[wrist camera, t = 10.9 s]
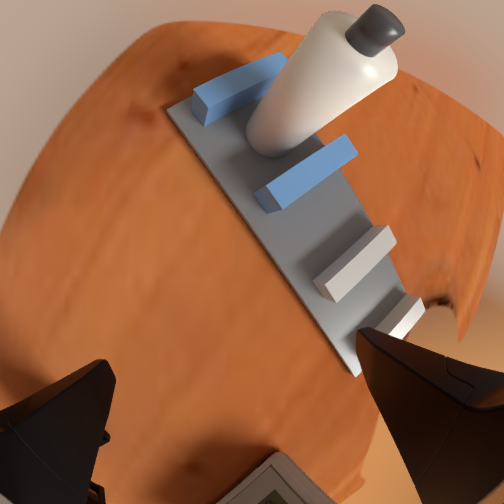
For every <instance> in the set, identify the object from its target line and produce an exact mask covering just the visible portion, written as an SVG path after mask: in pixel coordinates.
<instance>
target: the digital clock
mask: <svg viewBox="0 0 504 504" xmlns="http://www.w3.org/2000/svg"><path fill="white" fill-rule="evenodd" d="M215 504H337V503H336V502H335V501H333V500H332V499H331V498H330V497H329V496H328V495H327V494H326V493H325V492H324V491H323V490H322V489H321V488H320V487H319V486H318V485H316V484H315V483H314V482H313V481H312V480H311V479H310V478H309V477H308V476H307V475H306V474H305V473H304V472H303V471H302V470H301V468H300V467H299V466H298V465H297V464H296V463H295V462H294V461H293V460H292V459H291V458H290V457H289V456H288V455H286V454H285V453H283V452H275V453H274V454H272V455H271V456H270V457H269V458H268V459H267V460H266V461H265V462H264V463H263V464H262V465H261V466H260V467H258V468H256V469H255V470H254V471H253V472H252V473H250V474H249V475H248V476H247V477H246V478H245V479H244V480H243V481H242V482H241V483H239V484H238V485H237V486H236V487H235V488H234V489H233V490H231V491H230V492H229V493H228V494H227V495H225V496H224V497H223V498H222V499H220V500H219V501H218V502H217V503H215Z"/></svg>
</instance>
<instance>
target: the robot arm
mask: <svg viewBox="0 0 504 504" xmlns="http://www.w3.org/2000/svg"><path fill="white" fill-rule="evenodd" d="M356 355H357V358H358V361H359V363H360V366H361V369H362V372H363V374H364V377H365V380H366V383H367V386H368V388H369V390H370V393H371V395H372V397H373V399H374V401H375V403H376V405H377V407H378V409H379V411H380V413H381V415H382V417H383V419H384V421H385V423H386V425H387V427H388V429H389V431H390V433H391V435H392V437H393V439H394V441H395V444H396V446H397V448H398V450H399V452H400V454H401V456H402V458H403V461H404V463H405V465H406V467H407V469H408V472H409V474H410V476H411V478H412V481H413V483H414V485H416V486H415V488H416V490H417V492H418V494H419V497H420V499H421V502H422V504H504V373H503V372H498V371H494V370H490V369H486V368H482V367H478V366H474V365H470V364H467V363H464V362H461V361H458V360H455V359H452V358H450V357H446V358H445V356H444V355H441V354H438V353H436V352H433V351H430V350H428V349H425V348H422V347H420V346H417V345H414V344H412V343H409V342H407V341H404V340H401V339H399V338H396V337H394V336H391V335H388V334H386V333H383V332H381V331H378V330H376V329H373V328H371V327H364V328H360V329H357V331H356ZM115 384H116V378H115V375H114V373H113V371H112V369H111V367H110V365H109V363H108V361H107V360H105V359H97V360H95V361H93V362H91V363H89V364H88V365H86V366H84V367H82V368H80V369H79V370H77V371H75V372H73V373H71V374H70V375H68V376H66V377H64V378H62V379H61V380H59V381H57V382H55V383H53V384H51V385H50V386H48V387H46V388H44V389H42V390H40V391H39V392H37V393H35V394H33V395H32V396H29V397H27V398H26V399H24V400H22V401H20V402H18V403H16V404H14V405H12V406H10V407H7V408H5V409H3V410H1V411H0V504H106V502H105V492H104V487H102V486H100V485H97V484H95V483H94V482H92V481H91V477H92V473H93V469H94V465H95V461H96V457H97V453H98V450H99V447H100V446H102V445H104V444H106V443H108V442H109V441H110V438H111V437H110V435H109V434H108V433H107V432H106V431H104V429H105V426H106V422H107V419H108V416H109V412H110V407H111V402H112V398H113V393H114V388H115ZM105 437H106V438H105Z"/></svg>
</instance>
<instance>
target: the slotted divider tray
mask: <svg viewBox="0 0 504 504" xmlns="http://www.w3.org/2000/svg"><path fill="white" fill-rule="evenodd" d="M287 61H288V59H287V58H286V57H285V56H284V55H283V54H282V53H281V52H278V53H275V54H272V55H269V56H267V57H264V58H261V59H258V60H256V61H253V62H251V63H248V64H246V65H243V66H241V67H239V68H236V69H234V70H232V71H229V72H227V73H225V74H223V75H220V76H218V77H216V78H214V79H212V80H210V81H208V82H206V83H204V84H202V85H200V86H198V87H196V88H194V89H193V95H192V96H190V97H188V98H186V99H184V100H182V101H181V102H179V103H177V104H175V105H174V106H172V107H170V108H169V109H167V115H168V116H169V118H170V119H171V120H172V122H173V123H174V124H175V126H176V127H177V128H178V130H179V131H180V133H181V134H182V135H183V137H184V138H185V139H186V141H187V142H188V143H189V145H190V146H191V148H192V149H193V150H194V152H195V153H196V154H197V156H198V157H199V159H200V160H201V161H202V163H203V164H204V165H205V167H206V168H207V170H208V171H209V172H210V174H211V175H212V176H213V178H214V179H215V181H216V182H217V183H218V185H219V186H220V188H221V189H222V190H223V192H224V193H225V195H226V196H227V197H228V199H229V200H230V201H231V203H232V204H233V206H234V207H235V208H236V210H237V211H238V213H239V214H240V215H241V217H242V218H243V220H244V221H245V222H246V224H247V225H248V227H249V228H250V229H251V231H252V232H253V234H254V235H255V236H256V238H257V239H258V241H259V242H260V244H261V245H262V246H263V248H264V249H265V251H266V252H267V253H268V255H269V256H270V258H271V259H272V261H273V262H274V263H275V265H276V266H277V268H278V269H279V270H280V272H281V273H282V275H283V276H284V278H285V279H286V280H287V282H288V283H289V285H290V286H291V288H292V289H293V290H294V292H295V293H296V295H297V296H298V298H299V299H300V300H301V302H302V303H303V305H304V306H305V308H306V309H307V311H308V312H309V313H310V315H311V316H312V318H313V319H314V321H315V322H316V324H317V325H318V326H319V328H320V329H321V331H322V332H323V334H324V335H325V337H326V338H327V340H328V341H329V342H330V344H331V345H332V347H333V348H334V350H335V351H336V353H337V354H338V356H339V357H340V358H341V360H342V361H343V363H344V364H345V366H346V367H347V369H348V370H349V372H350V373H351V374H352V375H353V376H354V377H356V376H357V375H359V374H360V373H361V372H362V369H361V366H360V363H359V361H358V358H357V355H356V331H357V329H360V328H364V327H371V328H373V329H376V330H378V331H381V332H383V333H386V334H388V335H391V336H394V337H396V338H399V339H402V338H403V337H404V336H405V335H406V334H407V333H408V331H409V330H410V329H411V328H412V327H413V325H414V324H415V323H416V322H417V321H418V319H419V318H420V317H421V316H422V314H423V313H424V312H425V308H424V305H423V303H422V300H421V297H417V296H413V295H409V294H406V292H405V290H404V287H403V285H402V283H401V281H400V278H399V276H398V274H397V272H396V270H395V268H394V265H393V263H392V261H391V259H390V257H389V255H388V252H389V251H390V250H391V249H392V248H393V247H394V246H395V244H396V243H397V242H396V240H395V238H394V236H393V234H392V232H391V230H390V228H389V226H388V225H377V226H373V224H372V222H371V221H370V219H369V217H368V215H367V213H366V212H365V210H364V208H363V206H362V205H361V203H360V201H359V199H358V198H357V196H356V194H355V193H354V191H353V189H352V188H351V186H350V184H349V183H348V181H347V179H346V178H345V176H344V175H343V173H342V171H341V170H340V167H342V166H343V165H344V164H346V163H347V162H349V161H350V160H351V159H353V158H354V157H356V156H357V155H358V152H357V151H356V149H355V148H354V146H353V145H352V143H351V142H350V140H349V138H348V137H347V136H346V134H343V135H342V136H340V137H338V138H337V139H335V140H334V141H332V142H330V143H329V144H327V145H325V146H324V144H323V143H322V141H321V140H320V139H319V137H318V136H317V134H316V133H314V134H312V135H311V136H310V137H308V138H307V139H306V140H304V141H303V142H302V143H300V144H299V145H298V146H296V147H295V148H294V149H292V150H291V151H290V152H288V153H287V154H286V155H284V156H281V157H276V158H271V157H266V156H263V155H261V154H259V153H258V152H256V151H255V150H254V149H253V148H252V147H251V146H250V144H249V142H248V140H247V138H246V133H245V129H246V124H247V122H248V120H249V119H250V117H251V116H252V114H253V112H254V111H255V109H256V108H257V106H258V105H259V103H260V101H261V100H262V98H263V97H264V95H265V94H266V92H267V91H268V89H269V88H270V86H271V85H272V83H273V82H274V80H275V79H276V77H277V76H278V74H279V73H280V71H281V70H282V68H283V67H284V65H285V64H286V63H287Z"/></svg>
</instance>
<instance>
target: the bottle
mask: <svg viewBox="0 0 504 504" xmlns="http://www.w3.org/2000/svg"><path fill="white" fill-rule="evenodd" d="M403 34H405V29H404V27H403V24H402V23H401V22H400V20H399V19H398V18H397V17H396V16H395V15H394V14H393V13H392V12H390V11H389V10H388V9H386V8H384V7H382V6H380V5H377V4H373V5H372V6H371V7H370V8H369V9H368V10H367V11H366V12H365V13H364V14H363V15H362V16H361V17H360V18H358V17H356V16H354V15H351V14H348V13H346V12H341V11H328V12H325V13H324V14H322V15H321V16H320V18H319V19H318V20H317V22H316V23H315V24H314V26H313V27H312V28H311V29H310V31H309V32H308V34H307V35H306V36H305V38H304V39H303V40H302V42H301V43H300V44H299V46H298V47H297V48H296V50H295V51H294V53H293V54H292V55H291V57H290V58H289V60H288V61H287V63H286V64H285V65H284V67H283V68H282V70H281V71H280V73H279V74H278V76H277V77H276V79H275V80H274V82H273V83H272V85H271V86H270V88H269V89H268V91H267V92H266V94H265V95H264V97H263V98H262V100H261V101H260V103H259V105H258V106H257V108H256V109H255V111H254V112H253V114H252V116H251V117H250V119H249V120H248V122H247V124H246V129H245V133H246V138H247V140H248V142H249V144H250V146H251V147H252V148H253V149H254V150H255V151H256V152H258V153H259V154H261V155H263V156H266V157H271V158H276V157H281V156H284V155H286V154H287V153H288V152H290V151H291V150H292V149H294V148H295V147H296V146H298V145H299V144H300V143H302V142H303V141H304V140H306V139H307V138H308V137H310V136H311V135H312V134H314V133H315V132H316V131H318V130H319V129H320V128H322V127H323V126H325V125H326V124H327V123H329V122H330V121H332V120H333V119H334V118H336V117H337V116H339V115H340V114H341V113H343V112H344V111H346V110H347V109H348V108H350V107H351V106H353V105H354V104H356V103H357V102H359V101H360V100H362V99H363V98H364V97H366V96H367V95H369V94H370V93H372V92H373V91H375V90H376V89H378V88H379V87H381V86H382V85H384V84H386V83H387V82H389V81H390V80H392V79H393V78H394V77H395V76H396V74H397V71H398V65H397V60H396V57H395V54H394V52H393V50H392V49H391V47H390V44H391V43H393V42H394V41H395V40H397V39H398V38H400V37H401V36H402V35H403Z"/></svg>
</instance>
